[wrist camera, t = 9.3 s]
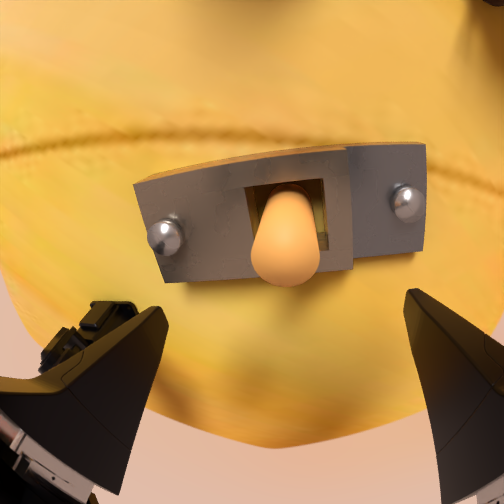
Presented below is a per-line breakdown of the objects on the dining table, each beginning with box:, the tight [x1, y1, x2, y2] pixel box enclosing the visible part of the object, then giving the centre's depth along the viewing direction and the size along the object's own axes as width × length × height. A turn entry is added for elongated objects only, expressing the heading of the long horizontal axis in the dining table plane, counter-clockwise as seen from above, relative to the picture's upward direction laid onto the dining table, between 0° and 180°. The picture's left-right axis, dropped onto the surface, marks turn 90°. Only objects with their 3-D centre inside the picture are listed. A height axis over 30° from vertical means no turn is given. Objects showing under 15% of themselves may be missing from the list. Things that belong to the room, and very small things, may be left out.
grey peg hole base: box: [221, 142, 427, 258], centre depth 18 cm, size 8×14×2 cm, turn 100°
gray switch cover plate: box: [133, 147, 353, 283], centre depth 19 cm, size 8×14×4 cm, turn 100°
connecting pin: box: [251, 183, 320, 287], centre depth 16 cm, size 3×3×8 cm
